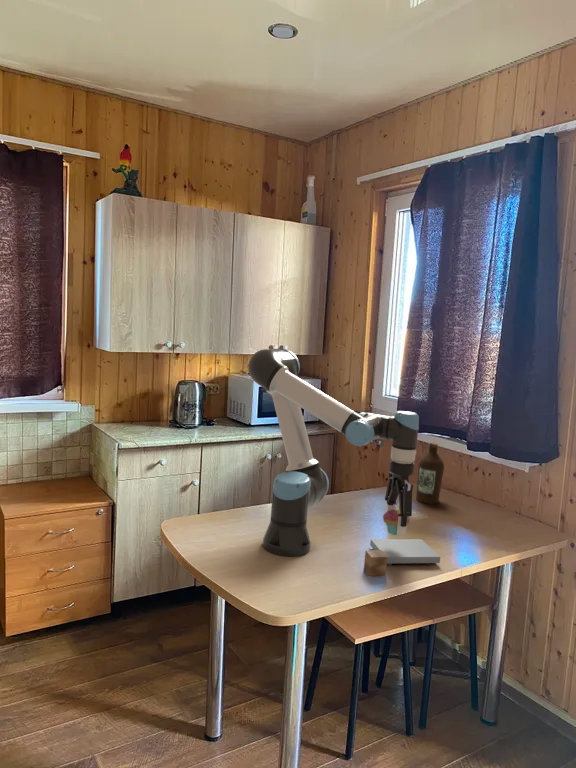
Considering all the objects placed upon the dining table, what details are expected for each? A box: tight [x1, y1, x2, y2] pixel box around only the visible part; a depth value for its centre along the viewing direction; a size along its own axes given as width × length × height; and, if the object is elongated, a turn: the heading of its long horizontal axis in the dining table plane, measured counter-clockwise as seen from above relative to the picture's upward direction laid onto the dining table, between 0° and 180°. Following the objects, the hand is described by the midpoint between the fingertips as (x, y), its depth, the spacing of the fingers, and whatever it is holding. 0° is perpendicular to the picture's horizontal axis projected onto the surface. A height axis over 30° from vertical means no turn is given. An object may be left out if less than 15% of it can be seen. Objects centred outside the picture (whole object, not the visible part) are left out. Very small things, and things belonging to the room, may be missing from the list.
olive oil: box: [415, 442, 445, 505], centre depth 249 cm, size 11×11×25 cm
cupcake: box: [382, 505, 411, 536], centre depth 185 cm, size 9×8×12 cm
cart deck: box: [369, 538, 441, 567], centre depth 187 cm, size 18×14×3 cm
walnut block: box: [363, 549, 388, 578], centre depth 174 cm, size 5×5×6 cm
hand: (395, 530), depth 186 cm, fingers closed on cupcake, 9 cm apart
